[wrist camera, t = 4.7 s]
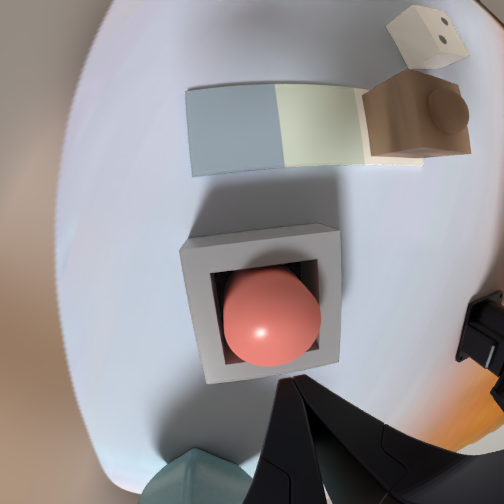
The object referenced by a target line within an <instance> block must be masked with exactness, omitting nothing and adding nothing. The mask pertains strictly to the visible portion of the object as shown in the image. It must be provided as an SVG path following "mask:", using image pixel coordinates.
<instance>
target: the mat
mask: <svg viewBox="0 0 504 504" xmlns="http://www.w3.org/2000/svg"><path fill="white" fill-rule="evenodd" d="M368 91H370V90H368V89H360V88H352V87H342V86H329V85H312V84H256V85H239V86H226V87H216V88H207V89H199V90H192V91H185V99H186V114H187V127H188V139H189V150H190V160H191V170H192V177H198V176H206V175H213V174H222V173H230V172H240V171H250V170H261V169H273V168H287V167H303V166H326V165H406V166H424V162H423V158H402V157H376V156H371V153H370V144H369V137H368V130H367V123H366V117H365V111H364V105H363V100H362V95H363V94H365V93H367V92H368Z"/></svg>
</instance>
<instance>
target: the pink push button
mask: <svg viewBox="0 0 504 504" xmlns="http://www.w3.org/2000/svg"><path fill="white" fill-rule="evenodd" d="M223 316H224V334H225V338H226V341H227V343H228V345H229V347H230V348H231V350H232V351H233V352H234V353H235V354H236V355H237V356H238V357H239V358H241V359H242V360H244V361H246V362H248V363H251V364H253V365H258V366H265V367H270V366H278V365H283V364H286V363H289V362H291V361H293V360H295V359H297V358H298V357H300V356H301V355H302V354H304V353H305V352H306V351H307V350H308V349H309V348H310V347H311V346H312V344H313V343H314V341H315V340H316V338H317V336H318V333H319V330H320V326H321V311H320V307H319V305H318V302H317V300H316V299H315V297H314V296H313V295H312V293H311V292H310V291H309V290H308V289H307V288H306V287H305V285H304V284H303V283H302V282H301V281H300V280H299V279H298V278H297V276H296V275H295V274H294V273H293V272H292V271H291V270H290V269H289V268H288V267H287V266H285V265H284V264H277V265H269V266H262V267H254V268H246V269H239V270H235V271H234V272H233V273H232V274H231V276H230V277H229V279H228V280H227V282H226V285H225V288H224V292H223Z"/></svg>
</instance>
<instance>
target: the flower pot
mask: <svg viewBox="0 0 504 504" xmlns="http://www.w3.org/2000/svg"><path fill="white" fill-rule="evenodd" d="M252 480H253V479H252V478H251V477H250V476H249V475H248V474H247V473H246V472H245V471H244V470H243V469H242V468H240V467H239V466H238V465H236V464H234V463H231V462H229V461H226V460H223V459H221V458H218V457H216V456H214V455H211V454H209V453H207V452H205V451H202V450H200V449H197V448H193V449H191V450H189V451H188V452H186V453H185V454H183V455H182V456H180V457H179V458H177V459H175V460H174V461H172V462H170V463H169V464H167V465H166V466H165V467H163V468H162V469H161V470H160V471H159V472H158V473H157V474H156V475H155V476H154V477H153V478H152V479H151V480H150V482H149V483H148V484H147V485H146V487H145V489H144V490H143V492H142V494H141V496H140V499H139V502H138V504H242V502H243V500H244V498H245V496H246V494H247V492H248V490H249V487H250V485H251V483H252Z"/></svg>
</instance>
